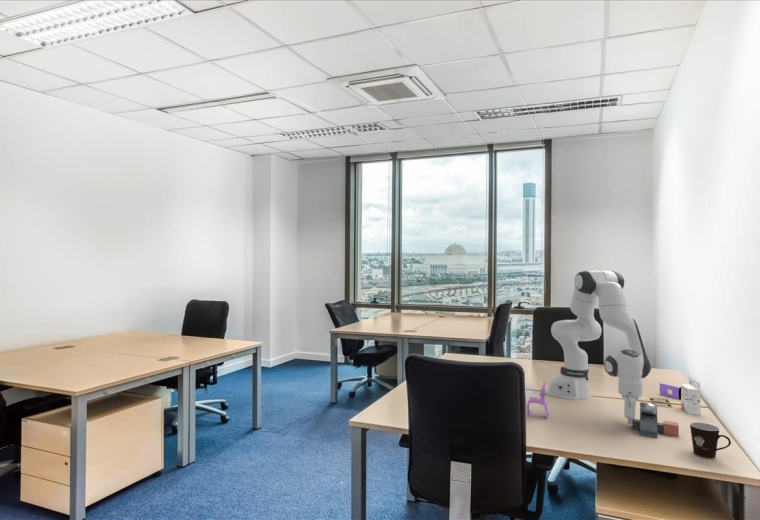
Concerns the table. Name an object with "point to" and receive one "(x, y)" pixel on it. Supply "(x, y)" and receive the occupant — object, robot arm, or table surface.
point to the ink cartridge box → (691, 398)
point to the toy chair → (539, 401)
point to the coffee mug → (705, 439)
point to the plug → (661, 427)
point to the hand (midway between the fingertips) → (630, 423)
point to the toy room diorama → (674, 392)
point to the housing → (648, 420)
